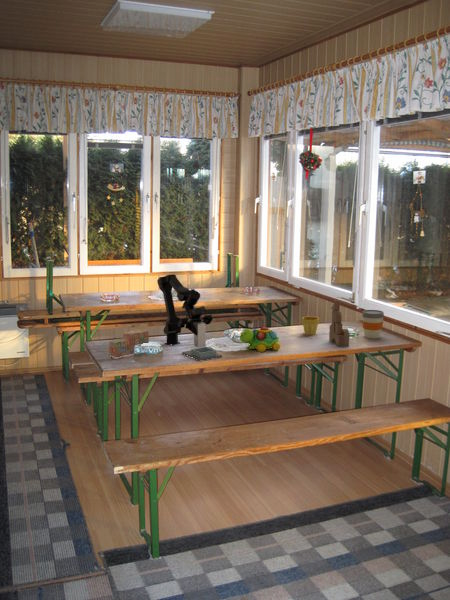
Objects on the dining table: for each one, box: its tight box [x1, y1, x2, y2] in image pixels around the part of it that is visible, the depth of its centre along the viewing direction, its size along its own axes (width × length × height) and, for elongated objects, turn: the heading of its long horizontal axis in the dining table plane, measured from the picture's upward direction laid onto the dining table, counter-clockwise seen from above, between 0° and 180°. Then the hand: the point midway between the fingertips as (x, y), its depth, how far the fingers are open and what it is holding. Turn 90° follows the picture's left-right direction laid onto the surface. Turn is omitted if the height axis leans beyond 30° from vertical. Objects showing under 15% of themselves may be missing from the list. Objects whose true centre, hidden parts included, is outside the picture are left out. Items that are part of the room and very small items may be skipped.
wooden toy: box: [328, 300, 350, 348], centre depth 362 cm, size 16×7×25 cm, turn 13°
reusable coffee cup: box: [361, 309, 385, 339], centre depth 378 cm, size 13×13×15 cm
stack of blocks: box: [108, 328, 150, 357], centre depth 340 cm, size 21×6×12 cm, turn 134°
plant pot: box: [301, 315, 320, 336], centre depth 386 cm, size 10×10×10 cm
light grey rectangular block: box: [193, 322, 207, 348], centre depth 334 cm, size 4×4×12 cm
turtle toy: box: [239, 326, 281, 353], centre depth 352 cm, size 17×23×12 cm
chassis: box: [181, 346, 223, 361], centre depth 339 cm, size 18×14×4 cm
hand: (200, 334), depth 333 cm, fingers closed on light grey rectangular block, 4 cm apart
